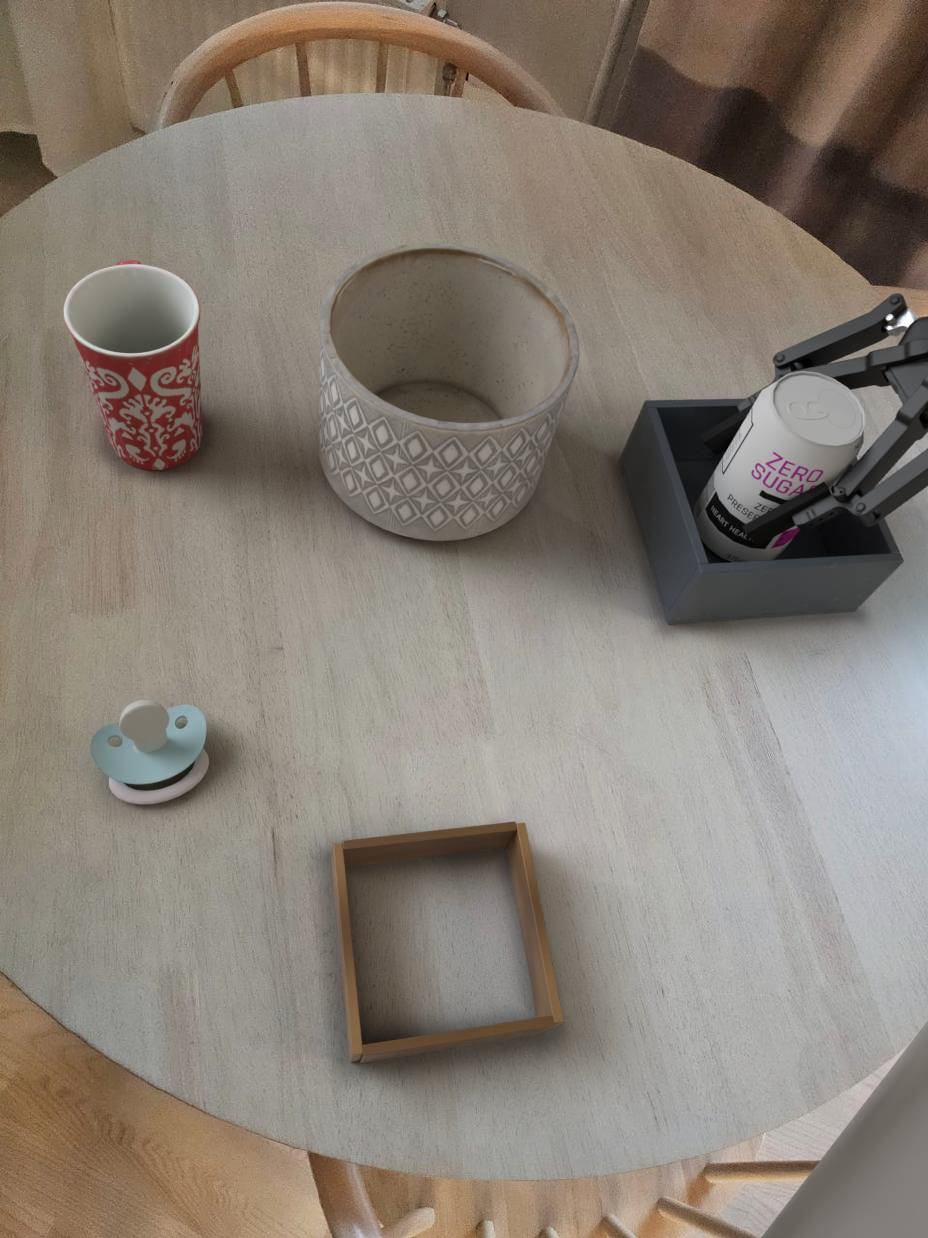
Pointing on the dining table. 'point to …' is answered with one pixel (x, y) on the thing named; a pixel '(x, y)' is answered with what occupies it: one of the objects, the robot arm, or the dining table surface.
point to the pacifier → (152, 751)
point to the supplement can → (779, 461)
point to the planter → (440, 388)
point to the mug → (141, 360)
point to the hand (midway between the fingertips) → (728, 489)
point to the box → (529, 918)
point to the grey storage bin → (715, 587)
